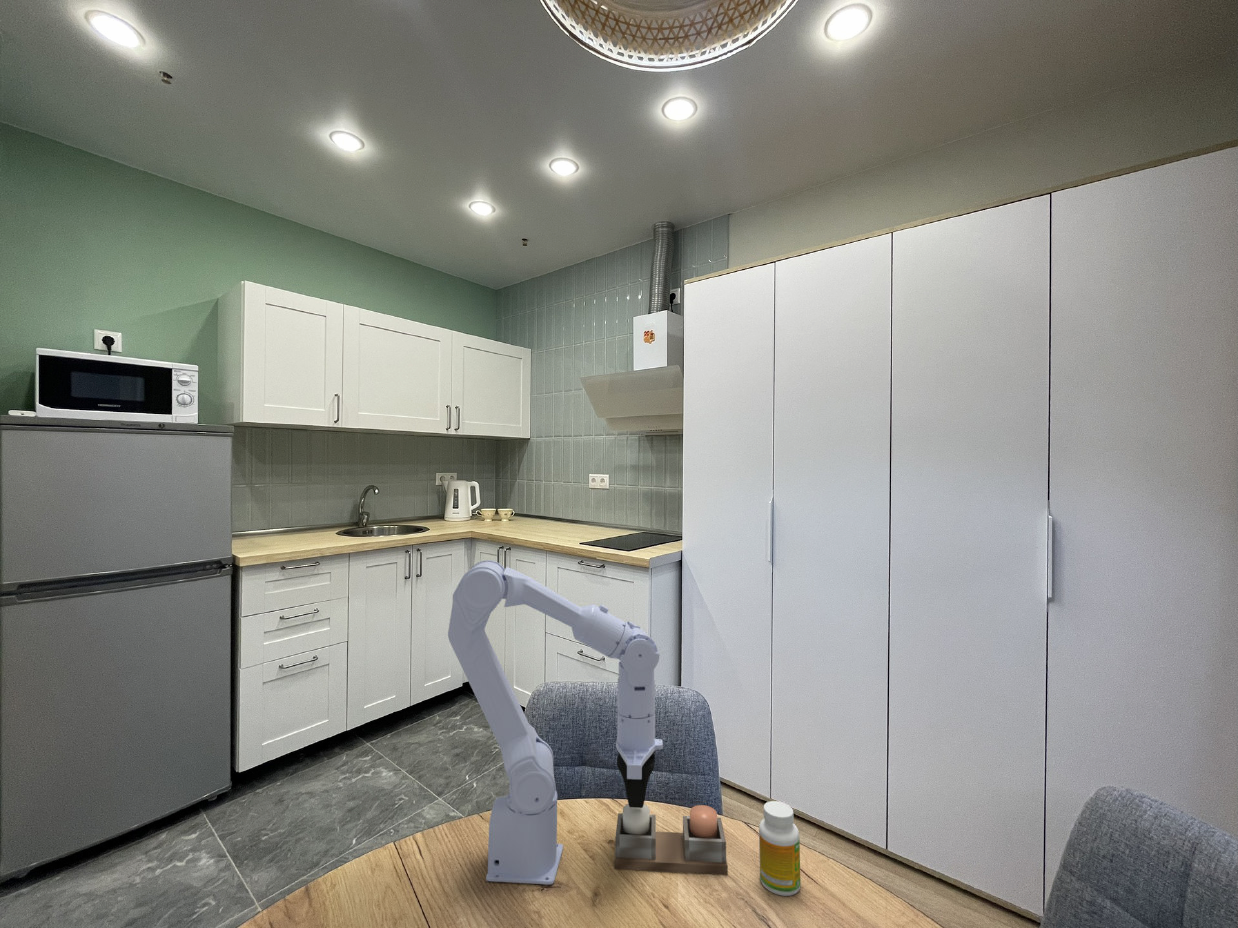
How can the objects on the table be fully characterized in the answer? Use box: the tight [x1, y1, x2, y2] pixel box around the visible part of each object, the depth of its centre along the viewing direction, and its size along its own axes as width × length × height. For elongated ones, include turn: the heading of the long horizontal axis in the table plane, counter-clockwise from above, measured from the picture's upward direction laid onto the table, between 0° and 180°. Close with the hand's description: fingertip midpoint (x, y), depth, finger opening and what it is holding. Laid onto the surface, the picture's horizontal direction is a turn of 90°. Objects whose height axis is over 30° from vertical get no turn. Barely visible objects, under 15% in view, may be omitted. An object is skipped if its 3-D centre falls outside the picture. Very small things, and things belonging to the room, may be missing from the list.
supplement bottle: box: [758, 800, 802, 897], centre depth 72 cm, size 5×5×10 cm
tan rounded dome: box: [689, 804, 718, 838], centre depth 77 cm, size 4×4×2 cm
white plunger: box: [622, 803, 651, 835], centre depth 78 cm, size 4×4×2 cm
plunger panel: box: [613, 812, 729, 876], centre depth 77 cm, size 16×7×4 cm, turn 86°
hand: (636, 805), depth 78 cm, fingers closed
